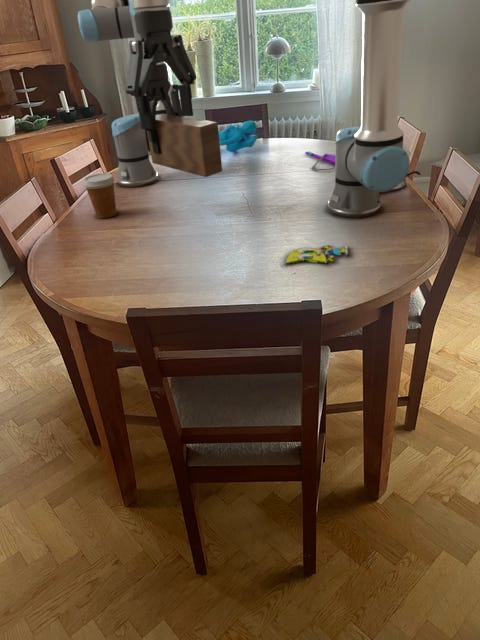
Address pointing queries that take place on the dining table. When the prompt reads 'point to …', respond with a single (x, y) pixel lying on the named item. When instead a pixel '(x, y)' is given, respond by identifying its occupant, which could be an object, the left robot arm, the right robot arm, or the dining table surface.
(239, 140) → the toy
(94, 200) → the disposable coffee cup
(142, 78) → the right robot arm
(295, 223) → the dining table surface
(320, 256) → the toy
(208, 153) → the box
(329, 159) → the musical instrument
